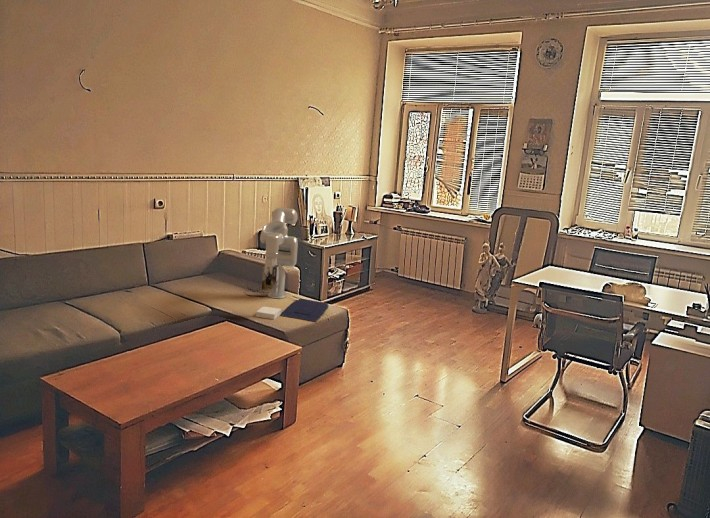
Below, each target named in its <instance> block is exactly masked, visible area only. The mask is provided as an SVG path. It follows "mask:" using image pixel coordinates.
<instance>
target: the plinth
mask: <svg viewBox="0 0 710 518" xmlns="http://www.w3.org/2000/svg"><path fill="white" fill-rule="evenodd" d="M281 313H282V308H277V307H270V306H261V307H260V308H259V309H258V310H256V311H255V317H257V318H263V319H271V320H275V319H277V316H278V317H279V316H281V315H280V314H281Z"/></svg>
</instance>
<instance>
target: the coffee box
mask: <svg viewBox="0 0 710 518" xmlns="http://www.w3.org/2000/svg"><path fill="white" fill-rule="evenodd" d="M264 268H265V264H264V265H263V266H262V275H261V277H262V279H261V292H265V293H270V292H272V293H276V292H277V291H278V280H279V265H276V266H275V267H273V273H272V274H271V285H266V275H265V273H264ZM269 274H270V272H269ZM269 276H270V275H269Z"/></svg>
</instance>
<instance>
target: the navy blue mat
mask: <svg viewBox="0 0 710 518" xmlns="http://www.w3.org/2000/svg"><path fill="white" fill-rule="evenodd" d="M329 306H330V305H329V302H323V301H317V300H311V299H307V298H299V299H296V300H294V301H293V302H291V303H290V304H289V305H288V306H287V307H286V308H285V309H284V310H283V311H281V314H280V315H279V316H282V317H289V318H294V319H298V320H299V319H300V320H304V321H310V322H314V323H316V322H317V321H318V320H319V319H320V318H321V317H322V315H323V314H324V313H325V312H326V311H327V310H328V308H329Z"/></svg>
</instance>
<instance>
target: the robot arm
mask: <svg viewBox="0 0 710 518" xmlns="http://www.w3.org/2000/svg"><path fill="white" fill-rule="evenodd" d="M297 221H298V212H297V211H296V210H295V209H294V208H287V207H276V208H275V209H274V210H273V211H271V221H269V222H268V223H266V224H265V225H264V226H263V227H262V230H261V232H260V237H259V240H260V242H261V243H262V244H264V245H265V262H264V265H265V268H264V273H265V275H266V285H271V274H272V273H273V267H275V266H276V265H279V280H278V291H277V292H276V293H272V292H267V296H268V297H269V298H271V299H280V300H281V299H284V298H286V297H287V293H285V287H286V285H285V284H286V283H285V282H286V270H285V268H284V267H295V266H296V264H297V261H298V247H299V246H298V243H299V242H298V238H297V237H296V236H289V235H288V230H289V228H288V227H287V225H286V224H291V225H294V224H296V223H297ZM279 250H282V251H279ZM283 266H284V267H283ZM269 272H270V274H269ZM269 275H270V276H269Z"/></svg>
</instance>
